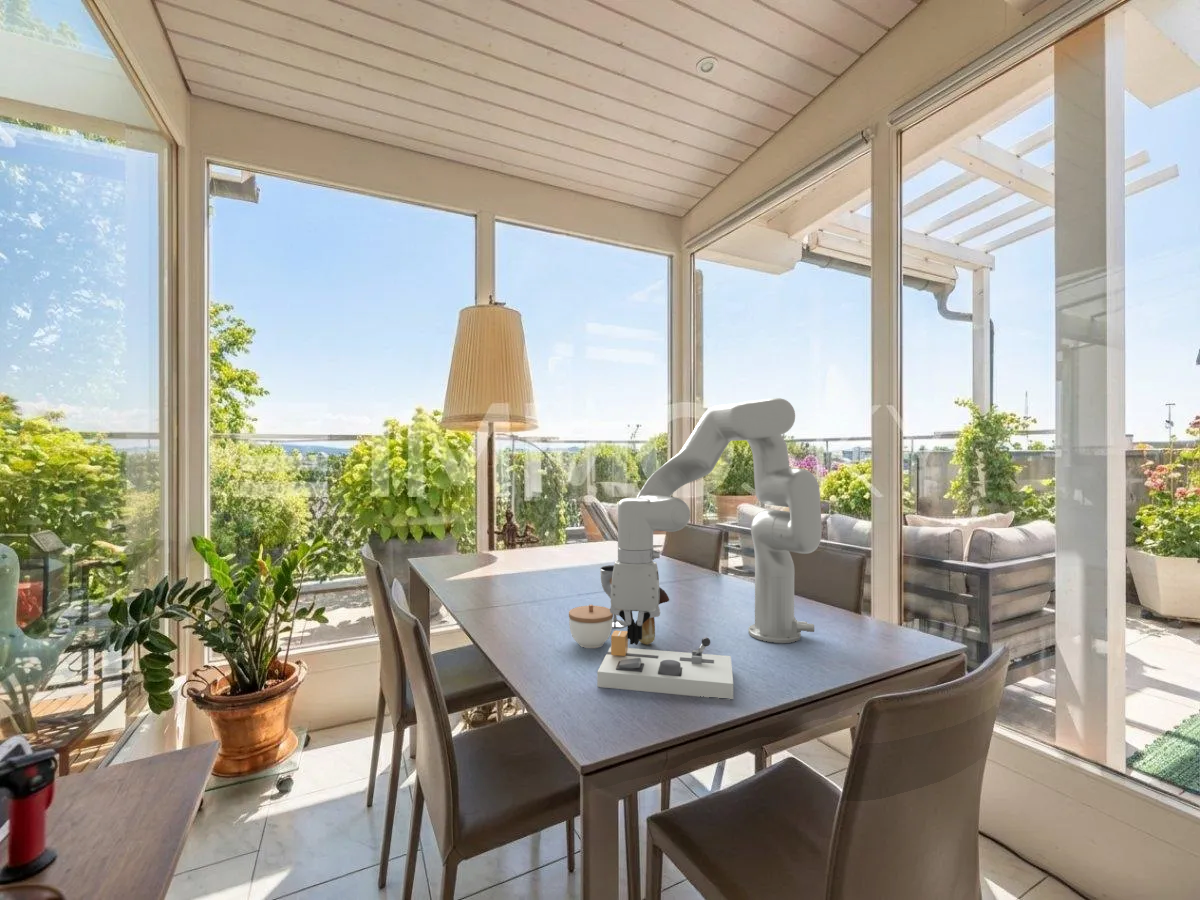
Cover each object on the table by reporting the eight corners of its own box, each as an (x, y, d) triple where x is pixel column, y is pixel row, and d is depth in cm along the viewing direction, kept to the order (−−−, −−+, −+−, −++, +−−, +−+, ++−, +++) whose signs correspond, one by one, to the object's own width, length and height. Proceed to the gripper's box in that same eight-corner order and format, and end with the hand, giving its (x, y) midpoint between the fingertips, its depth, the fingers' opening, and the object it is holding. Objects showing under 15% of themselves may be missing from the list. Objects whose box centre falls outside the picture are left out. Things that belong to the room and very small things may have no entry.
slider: (627, 649, 117) (627, 631, 117) (625, 655, 114) (625, 636, 114) (614, 648, 118) (614, 630, 118) (611, 654, 114) (611, 635, 114)
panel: (730, 670, 115) (730, 648, 115) (733, 699, 101) (733, 675, 101) (610, 660, 120) (610, 639, 120) (597, 686, 106) (597, 663, 106)
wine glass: (630, 629, 141) (630, 571, 141) (599, 628, 141) (600, 571, 141) (629, 619, 149) (629, 565, 149) (600, 619, 149) (600, 565, 149)
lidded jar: (560, 641, 132) (560, 603, 132) (596, 633, 138) (596, 596, 138) (584, 655, 123) (584, 614, 123) (622, 645, 129) (622, 606, 129)
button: (680, 679, 109) (681, 660, 109) (679, 688, 105) (679, 668, 105) (661, 677, 109) (661, 659, 109) (659, 686, 105) (659, 666, 105)
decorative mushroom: (638, 655, 123) (639, 589, 123) (615, 640, 133) (615, 579, 133) (678, 647, 128) (678, 584, 128) (652, 633, 138) (653, 574, 138)
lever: (700, 658, 113) (712, 639, 113) (699, 662, 111) (712, 642, 111) (692, 653, 113) (704, 634, 113) (692, 657, 112) (704, 637, 111)
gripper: (671, 554, 117) (671, 639, 117) (604, 551, 120) (603, 634, 120) (669, 561, 110) (668, 651, 110) (597, 557, 113) (596, 646, 113)
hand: (634, 642), depth 115 cm, fingers closed
